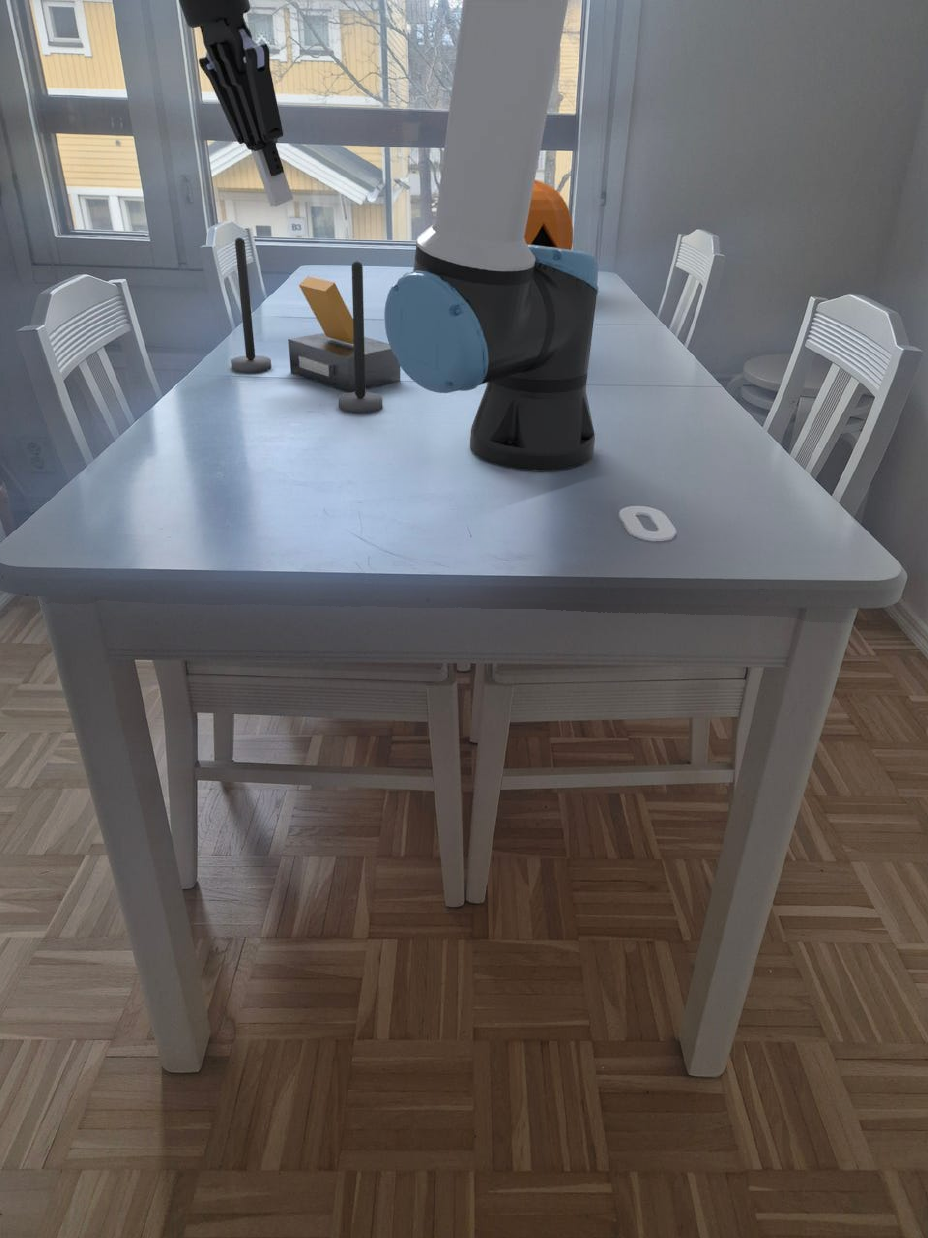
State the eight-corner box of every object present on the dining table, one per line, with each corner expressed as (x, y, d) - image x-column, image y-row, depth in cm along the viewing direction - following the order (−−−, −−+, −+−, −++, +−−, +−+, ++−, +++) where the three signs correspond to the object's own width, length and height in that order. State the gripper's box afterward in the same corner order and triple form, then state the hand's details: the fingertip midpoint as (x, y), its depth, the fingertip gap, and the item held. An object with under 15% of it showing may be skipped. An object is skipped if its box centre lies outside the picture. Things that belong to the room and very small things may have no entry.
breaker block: (344, 393, 120) (343, 358, 117) (286, 373, 128) (283, 339, 126) (400, 380, 127) (400, 346, 124) (341, 362, 135) (340, 329, 132)
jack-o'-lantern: (429, 297, 184) (431, 140, 169) (466, 278, 207) (471, 138, 192) (554, 309, 178) (568, 147, 162) (577, 288, 201) (592, 144, 185)
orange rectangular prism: (355, 348, 123) (325, 291, 116) (327, 340, 127) (297, 284, 119) (363, 339, 124) (335, 282, 116) (336, 331, 127) (307, 275, 120)
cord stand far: (273, 372, 129) (262, 240, 119) (232, 373, 127) (218, 240, 117) (269, 362, 133) (258, 234, 124) (230, 363, 132) (216, 234, 122)
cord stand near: (386, 412, 114) (385, 265, 104) (342, 414, 112) (336, 265, 102) (377, 399, 118) (375, 257, 109) (335, 401, 117) (329, 257, 107)
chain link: (658, 510, 89) (613, 510, 88) (659, 505, 89) (613, 505, 88) (681, 543, 82) (633, 544, 82) (682, 538, 82) (634, 538, 81)
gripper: (263, -40, 91) (332, 193, 105) (208, -21, 99) (279, 191, 114) (204, -24, 87) (284, 214, 102) (152, -6, 96) (233, 211, 111)
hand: (281, 202), depth 108 cm, fingers closed
